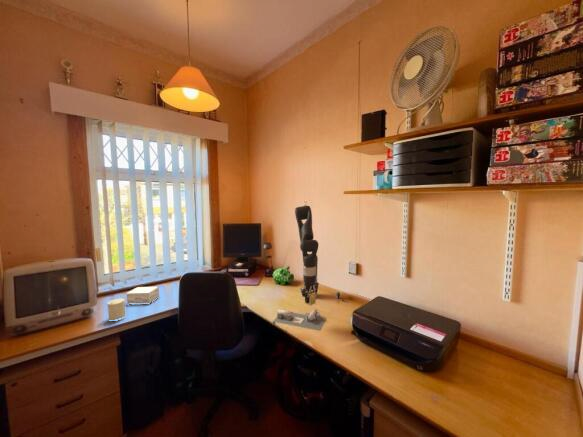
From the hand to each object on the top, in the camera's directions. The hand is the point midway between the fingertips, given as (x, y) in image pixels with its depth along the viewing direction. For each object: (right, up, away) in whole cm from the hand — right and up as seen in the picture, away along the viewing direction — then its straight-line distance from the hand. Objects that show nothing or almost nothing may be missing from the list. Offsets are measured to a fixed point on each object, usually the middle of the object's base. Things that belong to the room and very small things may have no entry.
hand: (310, 301), depth 142 cm
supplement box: (-124, -14, +41) cm, 131 cm away
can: (-124, -16, +14) cm, 126 cm away
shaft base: (-6, -15, +6) cm, 17 cm away
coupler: (0, -1, 0) cm, 1 cm away
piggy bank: (-19, -10, +75) cm, 78 cm away
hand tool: (+28, -15, -3) cm, 32 cm away
